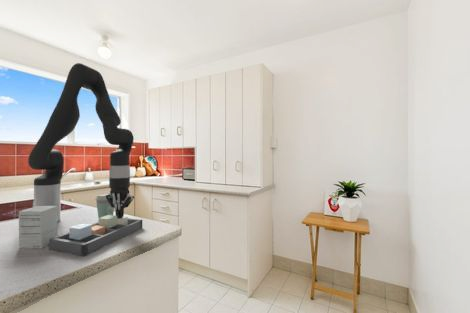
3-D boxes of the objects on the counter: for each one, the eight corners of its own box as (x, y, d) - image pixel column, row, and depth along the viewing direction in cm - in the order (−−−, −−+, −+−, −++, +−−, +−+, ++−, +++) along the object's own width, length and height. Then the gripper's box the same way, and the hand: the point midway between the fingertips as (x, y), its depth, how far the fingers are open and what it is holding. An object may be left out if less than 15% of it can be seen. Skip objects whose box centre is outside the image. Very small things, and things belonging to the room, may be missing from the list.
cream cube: (110, 227, 87) (110, 218, 87) (119, 224, 91) (119, 215, 91) (119, 228, 85) (119, 219, 85) (127, 225, 90) (127, 216, 90)
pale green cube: (98, 227, 81) (98, 218, 81) (108, 223, 86) (108, 214, 86) (107, 228, 80) (107, 219, 80) (117, 224, 84) (117, 215, 84)
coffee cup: (106, 222, 97) (106, 196, 97) (90, 221, 99) (90, 195, 99) (120, 217, 106) (120, 193, 105) (105, 216, 107) (105, 192, 107)
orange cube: (84, 239, 76) (85, 229, 76) (96, 234, 80) (96, 225, 80) (94, 240, 75) (94, 230, 75) (105, 236, 79) (105, 226, 79)
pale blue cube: (69, 238, 71) (69, 227, 71) (82, 233, 75) (82, 223, 75) (79, 239, 70) (79, 229, 69) (91, 235, 74) (91, 224, 74)
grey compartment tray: (49, 249, 70) (49, 238, 70) (114, 224, 95) (114, 216, 95) (84, 256, 66) (84, 244, 66) (142, 228, 91) (142, 220, 91)
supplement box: (36, 240, 77) (36, 205, 77) (58, 239, 78) (58, 205, 78) (17, 249, 70) (17, 211, 70) (41, 248, 70) (41, 211, 70)
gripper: (99, 176, 86) (99, 219, 86) (125, 177, 82) (125, 222, 83) (114, 174, 93) (114, 214, 94) (139, 176, 90) (139, 216, 90)
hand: (119, 217), depth 88 cm, fingers closed
